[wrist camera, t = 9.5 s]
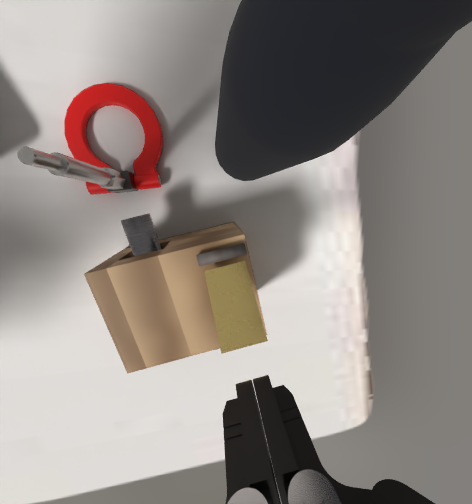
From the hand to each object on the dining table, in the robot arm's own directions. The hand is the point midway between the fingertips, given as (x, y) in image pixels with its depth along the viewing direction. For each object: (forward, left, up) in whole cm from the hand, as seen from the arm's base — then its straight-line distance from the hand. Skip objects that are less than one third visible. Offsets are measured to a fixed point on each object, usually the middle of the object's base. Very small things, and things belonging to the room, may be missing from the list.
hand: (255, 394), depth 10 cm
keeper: (0, +1, -6) cm, 6 cm away
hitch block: (-4, +1, -16) cm, 17 cm away
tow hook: (-7, +15, -17) cm, 24 cm away
